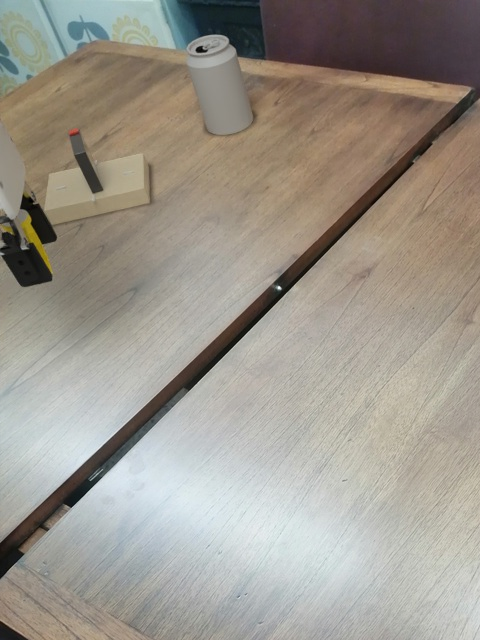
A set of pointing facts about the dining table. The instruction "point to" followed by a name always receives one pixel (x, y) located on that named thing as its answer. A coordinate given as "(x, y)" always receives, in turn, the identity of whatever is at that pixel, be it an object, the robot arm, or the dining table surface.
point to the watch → (29, 234)
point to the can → (219, 85)
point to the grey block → (85, 160)
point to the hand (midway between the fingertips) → (39, 260)
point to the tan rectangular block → (118, 192)
